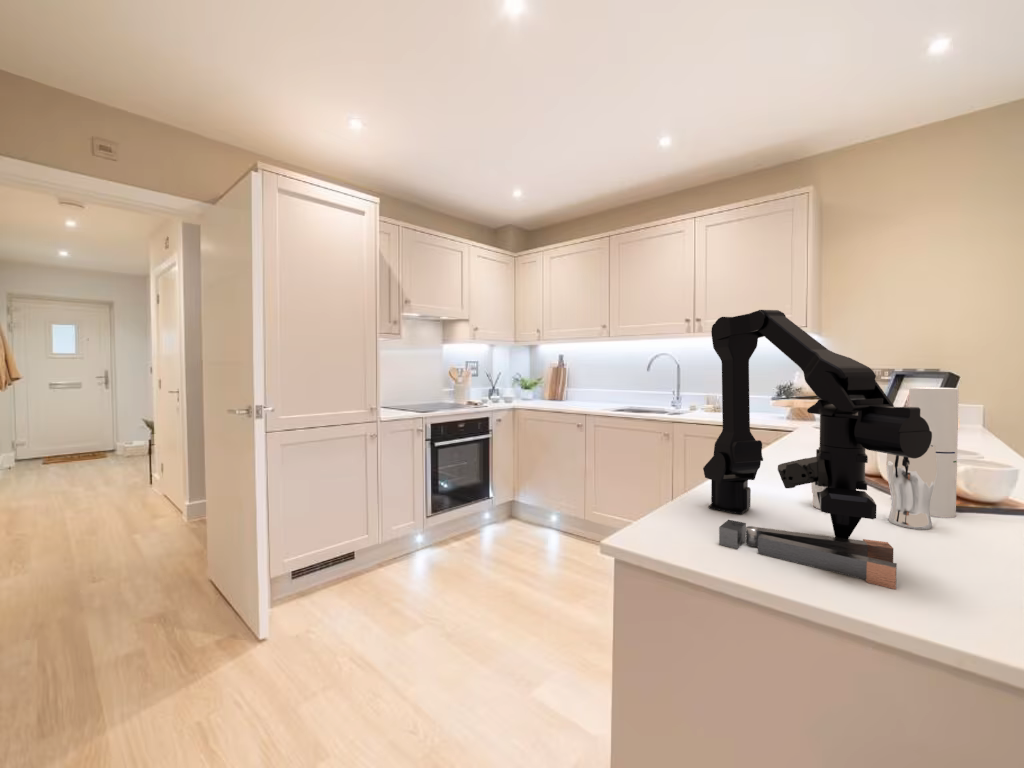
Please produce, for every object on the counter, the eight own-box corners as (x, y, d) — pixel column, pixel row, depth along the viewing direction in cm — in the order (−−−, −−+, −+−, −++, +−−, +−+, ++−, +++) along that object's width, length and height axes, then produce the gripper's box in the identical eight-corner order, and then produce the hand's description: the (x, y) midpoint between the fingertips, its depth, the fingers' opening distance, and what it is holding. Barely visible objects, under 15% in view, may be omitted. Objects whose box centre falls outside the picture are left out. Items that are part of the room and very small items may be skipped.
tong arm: (746, 544, 73) (746, 529, 73) (745, 539, 75) (745, 524, 75) (893, 566, 65) (893, 548, 65) (887, 559, 67) (887, 542, 67)
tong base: (718, 545, 73) (718, 527, 73) (728, 536, 77) (728, 519, 77) (895, 589, 58) (895, 566, 58) (897, 575, 62) (897, 554, 62)
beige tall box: (897, 507, 93) (899, 387, 92) (928, 505, 93) (931, 387, 92) (932, 518, 85) (935, 389, 85) (966, 517, 86) (969, 388, 85)
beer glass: (945, 531, 78) (947, 447, 78) (900, 529, 80) (902, 446, 79) (918, 518, 85) (920, 441, 85) (877, 516, 87) (878, 440, 86)
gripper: (781, 432, 81) (781, 516, 82) (780, 451, 65) (779, 555, 66) (858, 436, 75) (857, 527, 76) (878, 459, 59) (876, 573, 60)
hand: (840, 543), depth 69 cm, fingers closed
